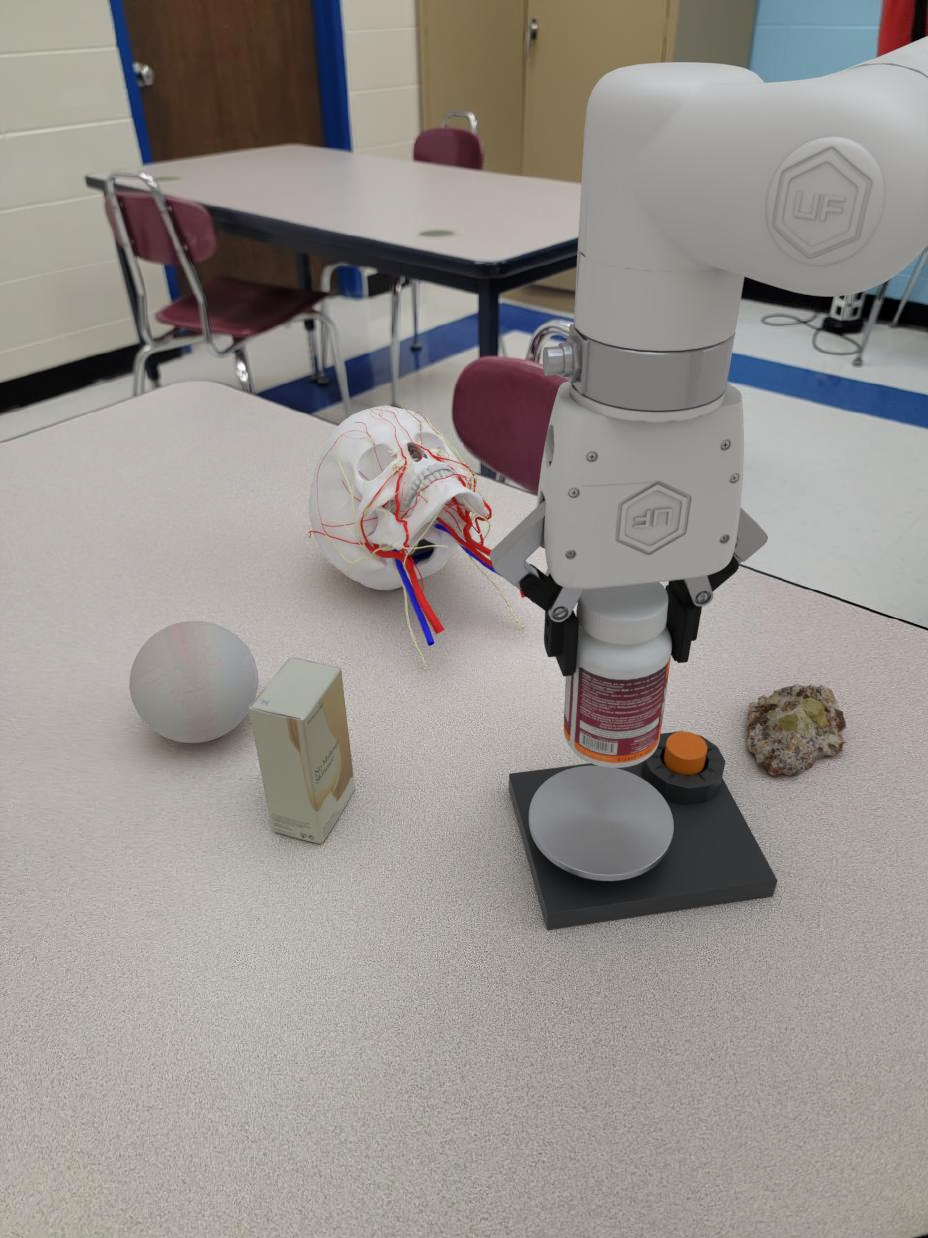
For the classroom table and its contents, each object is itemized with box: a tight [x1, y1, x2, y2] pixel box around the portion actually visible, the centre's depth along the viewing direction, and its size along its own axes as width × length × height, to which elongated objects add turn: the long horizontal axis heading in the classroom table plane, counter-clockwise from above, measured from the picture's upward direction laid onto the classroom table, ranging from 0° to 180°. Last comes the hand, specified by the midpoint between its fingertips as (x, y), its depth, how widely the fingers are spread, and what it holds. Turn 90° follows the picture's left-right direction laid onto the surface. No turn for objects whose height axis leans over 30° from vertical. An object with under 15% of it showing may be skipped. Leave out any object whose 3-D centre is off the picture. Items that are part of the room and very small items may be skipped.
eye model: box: [129, 620, 259, 744], centre depth 74 cm, size 10×10×10 cm
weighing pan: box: [529, 766, 674, 881], centre depth 63 cm, size 10×10×1 cm
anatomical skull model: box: [308, 405, 535, 672], centre depth 87 cm, size 16×19×25 cm
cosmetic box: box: [248, 656, 356, 844], centre depth 66 cm, size 6×4×12 cm
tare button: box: [664, 731, 707, 776], centre depth 68 cm, size 3×3×2 cm
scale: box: [508, 730, 778, 931], centre depth 66 cm, size 16×14×4 cm
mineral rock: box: [745, 683, 847, 777], centre depth 74 cm, size 11×4×8 cm
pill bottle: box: [563, 582, 672, 768], centre depth 55 cm, size 6×6×11 cm
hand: (618, 653), depth 54 cm, fingers closed on pill bottle, 6 cm apart
